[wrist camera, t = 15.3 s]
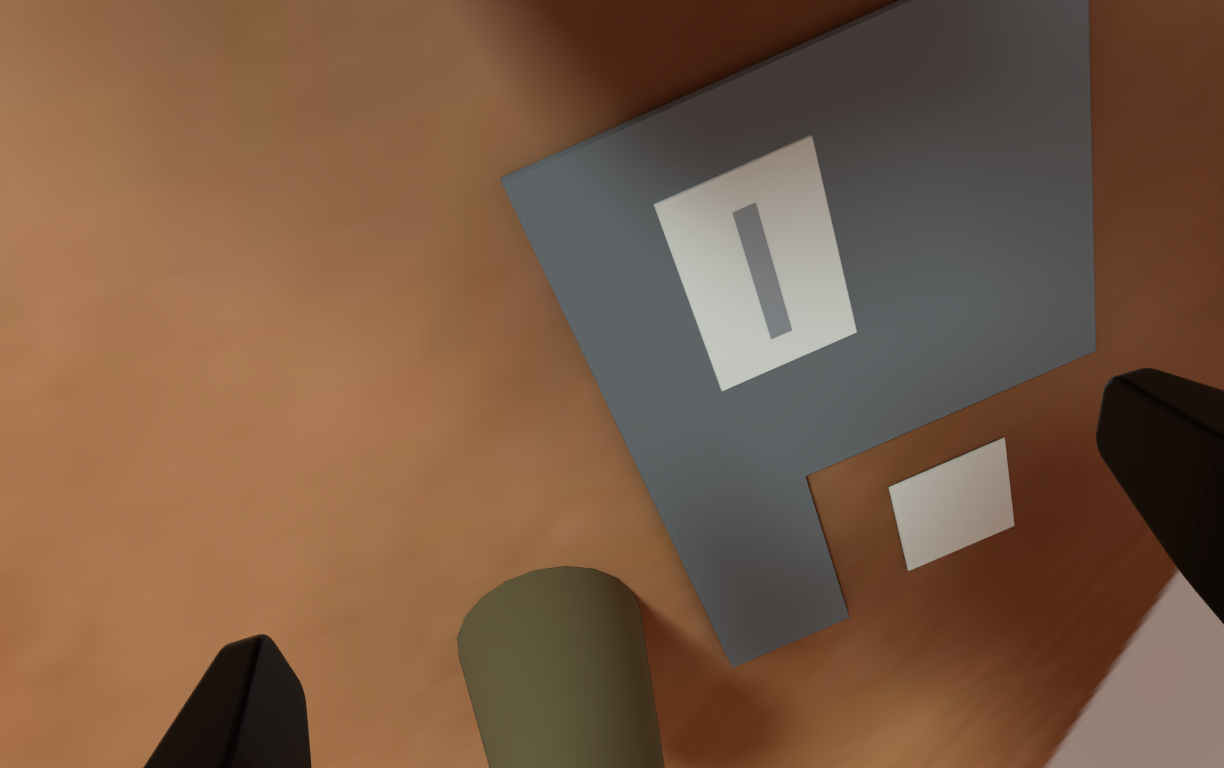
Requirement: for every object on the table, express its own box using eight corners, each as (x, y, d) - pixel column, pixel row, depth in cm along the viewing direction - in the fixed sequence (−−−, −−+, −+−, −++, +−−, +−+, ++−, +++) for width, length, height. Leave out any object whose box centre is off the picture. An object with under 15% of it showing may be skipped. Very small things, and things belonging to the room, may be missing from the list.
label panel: (500, 177, 20) (503, 185, 20) (1078, -80, 20) (1090, -77, 20) (730, 661, 32) (733, 670, 32) (1093, 505, 32) (1101, 513, 32)
